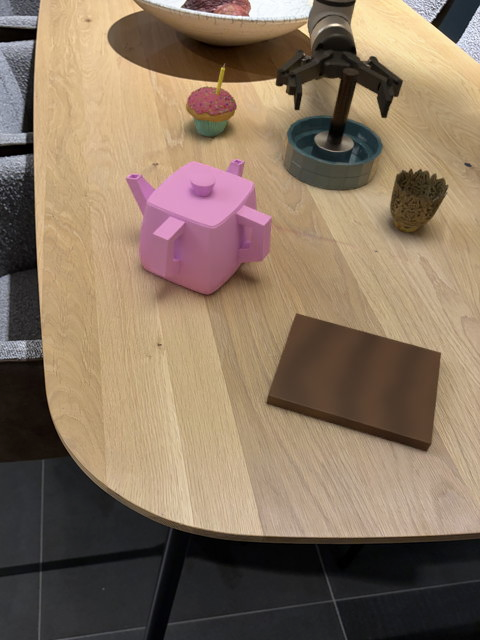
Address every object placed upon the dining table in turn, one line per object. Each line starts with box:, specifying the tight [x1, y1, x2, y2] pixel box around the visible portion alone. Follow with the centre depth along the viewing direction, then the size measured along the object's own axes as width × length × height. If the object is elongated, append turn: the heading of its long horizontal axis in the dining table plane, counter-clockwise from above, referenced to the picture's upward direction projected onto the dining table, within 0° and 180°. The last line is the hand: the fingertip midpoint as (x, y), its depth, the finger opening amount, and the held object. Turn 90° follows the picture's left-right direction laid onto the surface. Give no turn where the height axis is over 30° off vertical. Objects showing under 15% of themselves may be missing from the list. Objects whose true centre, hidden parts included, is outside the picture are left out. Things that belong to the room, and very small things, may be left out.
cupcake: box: [185, 63, 238, 138], centre depth 102 cm, size 9×8×12 cm
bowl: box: [282, 114, 384, 191], centre depth 99 cm, size 15×15×5 cm
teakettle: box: [125, 158, 273, 296], centre depth 79 cm, size 17×17×12 cm
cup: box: [389, 168, 449, 234], centre depth 88 cm, size 8×7×8 cm
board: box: [266, 312, 442, 452], centre depth 70 cm, size 18×14×2 cm
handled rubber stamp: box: [311, 68, 359, 163], centre depth 95 cm, size 6×6×15 cm
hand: (342, 105), depth 93 cm, fingers open, 13 cm apart
